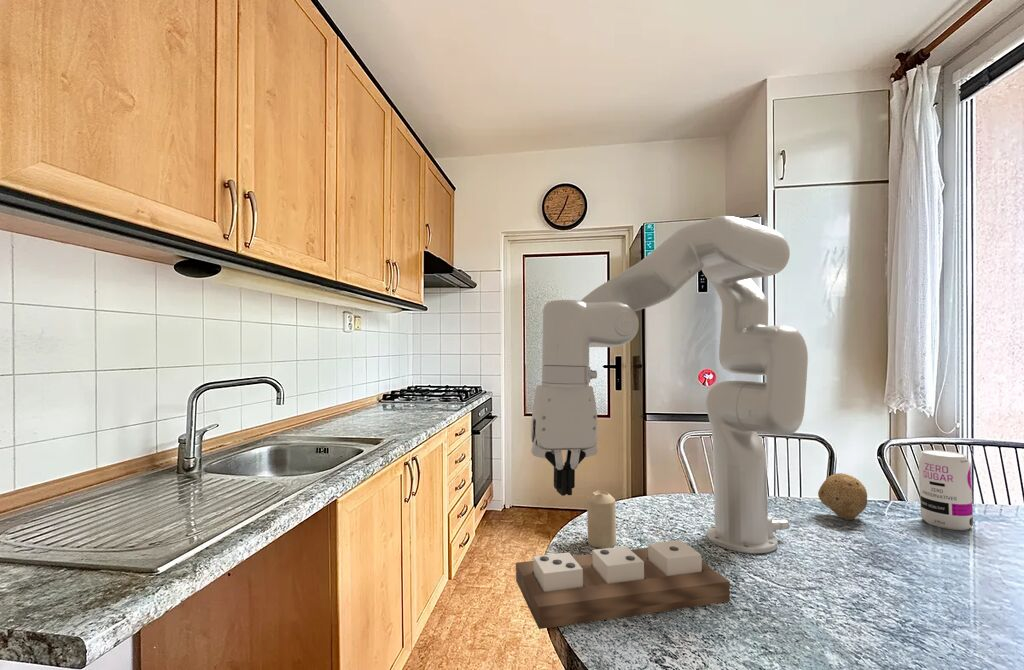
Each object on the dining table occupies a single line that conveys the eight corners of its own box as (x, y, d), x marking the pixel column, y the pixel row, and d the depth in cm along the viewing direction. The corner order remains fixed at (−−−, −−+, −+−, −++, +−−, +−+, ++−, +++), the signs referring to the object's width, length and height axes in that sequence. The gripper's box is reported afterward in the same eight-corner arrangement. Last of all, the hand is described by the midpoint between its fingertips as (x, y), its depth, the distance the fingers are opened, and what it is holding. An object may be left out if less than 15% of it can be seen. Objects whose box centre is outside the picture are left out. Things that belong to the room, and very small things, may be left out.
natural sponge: (812, 517, 106) (810, 472, 106) (828, 509, 111) (827, 466, 112) (860, 529, 99) (858, 481, 99) (875, 520, 104) (873, 474, 104)
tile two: (626, 564, 79) (626, 545, 79) (644, 581, 73) (643, 560, 73) (592, 568, 78) (592, 548, 78) (607, 586, 72) (607, 564, 72)
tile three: (569, 571, 77) (569, 551, 77) (582, 589, 71) (582, 568, 71) (533, 575, 75) (533, 555, 75) (544, 594, 69) (544, 572, 70)
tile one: (680, 557, 81) (680, 539, 81) (701, 573, 75) (701, 553, 75) (648, 561, 80) (648, 542, 80) (667, 578, 74) (667, 557, 74)
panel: (678, 561, 85) (677, 544, 85) (730, 601, 72) (729, 581, 72) (516, 581, 79) (515, 562, 79) (538, 629, 65) (538, 607, 65)
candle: (616, 549, 91) (615, 496, 91) (587, 547, 92) (586, 495, 92) (615, 538, 96) (614, 488, 96) (588, 536, 97) (587, 487, 97)
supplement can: (967, 521, 103) (964, 451, 103) (978, 534, 96) (974, 459, 96) (918, 515, 107) (915, 448, 107) (925, 526, 100) (922, 455, 100)
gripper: (599, 376, 81) (598, 485, 80) (514, 375, 78) (512, 488, 77) (618, 378, 74) (617, 498, 73) (525, 378, 71) (523, 502, 70)
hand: (563, 492), depth 75 cm, fingers closed
